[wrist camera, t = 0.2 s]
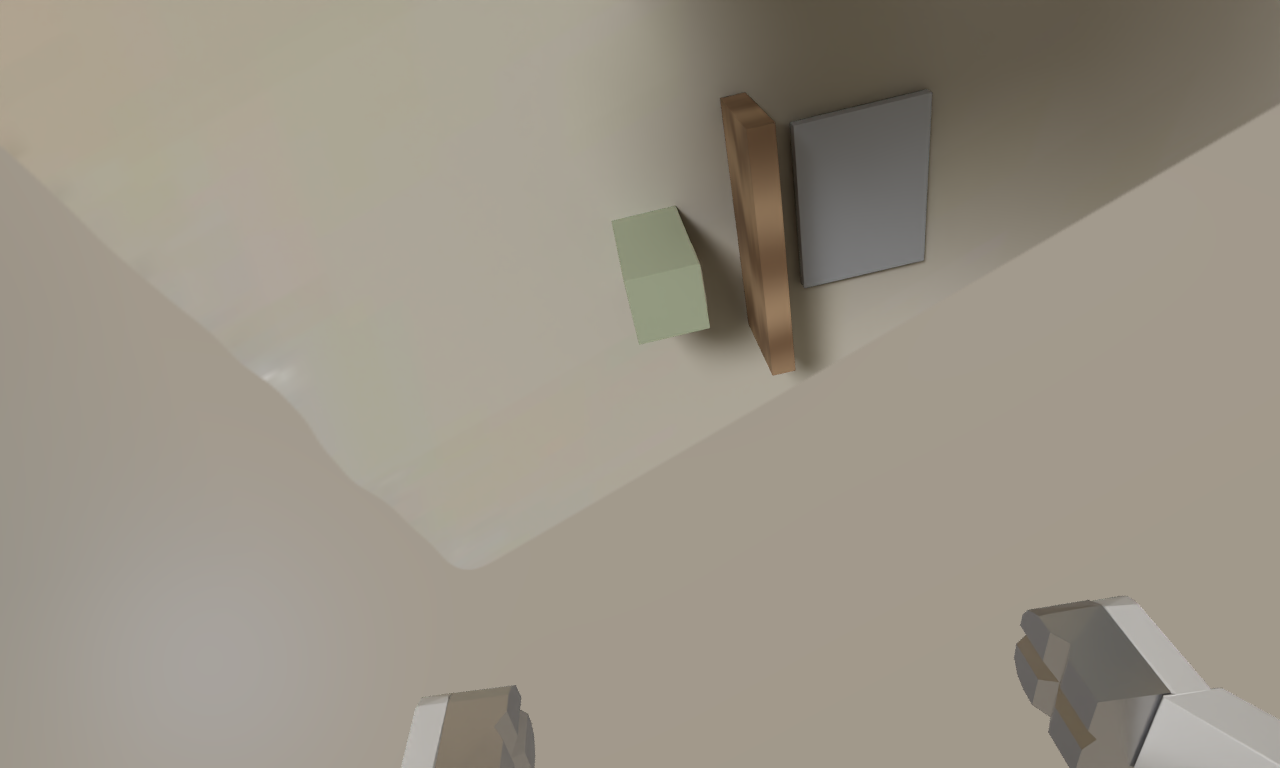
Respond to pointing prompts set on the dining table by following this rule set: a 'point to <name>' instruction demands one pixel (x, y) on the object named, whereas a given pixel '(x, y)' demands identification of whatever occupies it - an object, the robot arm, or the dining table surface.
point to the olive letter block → (661, 275)
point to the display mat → (861, 187)
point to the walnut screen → (760, 227)
